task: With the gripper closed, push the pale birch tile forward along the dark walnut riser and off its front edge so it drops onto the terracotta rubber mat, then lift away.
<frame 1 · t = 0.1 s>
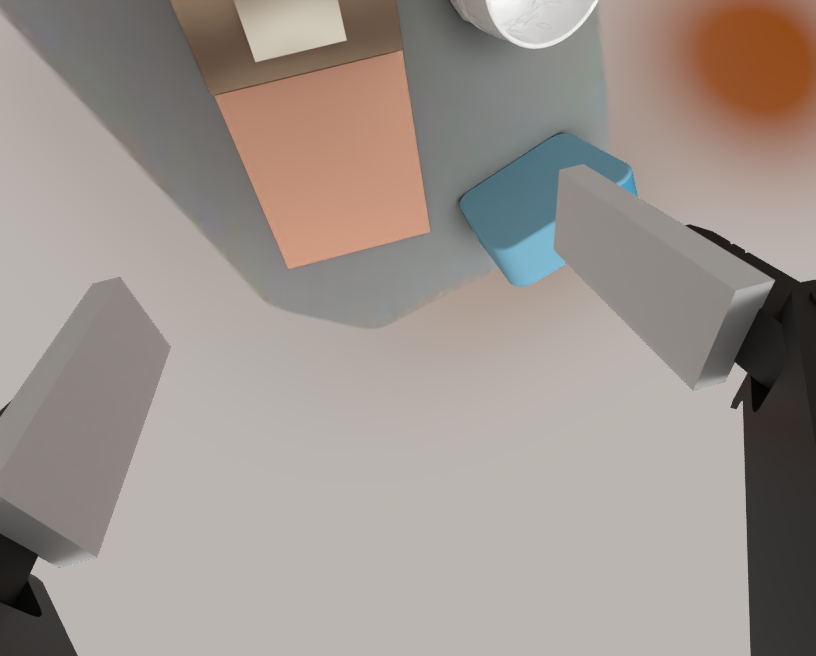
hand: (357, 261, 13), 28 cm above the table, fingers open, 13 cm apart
terracotta mat: (337, 171, 38), on the table
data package: (514, 182, 43), on the table
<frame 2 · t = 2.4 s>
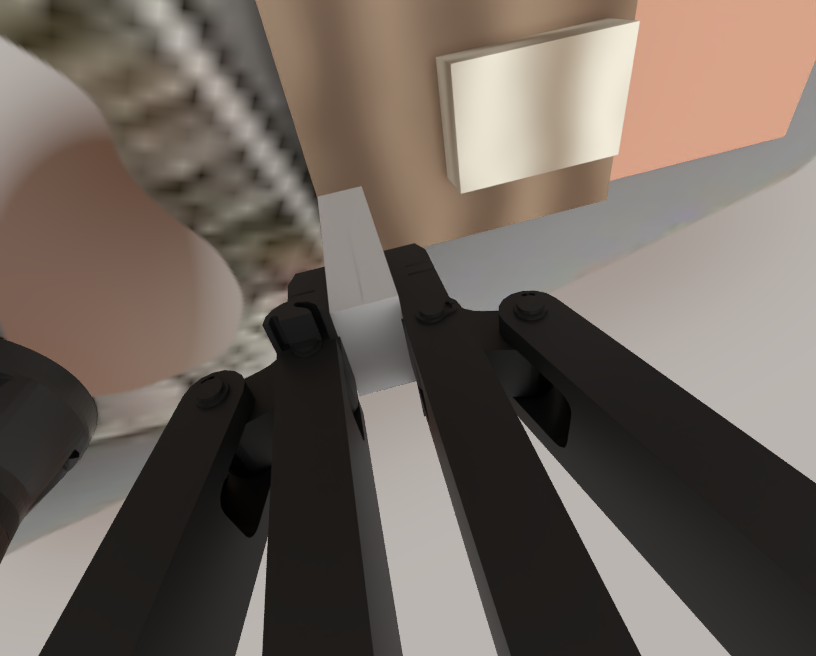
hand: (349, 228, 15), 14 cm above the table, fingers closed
walnut riser: (447, 101, 26), on the table
birch tile: (522, 103, 23), point 4 cm above the table, touching walnut riser
terracotta mat: (711, 39, 27), on the table
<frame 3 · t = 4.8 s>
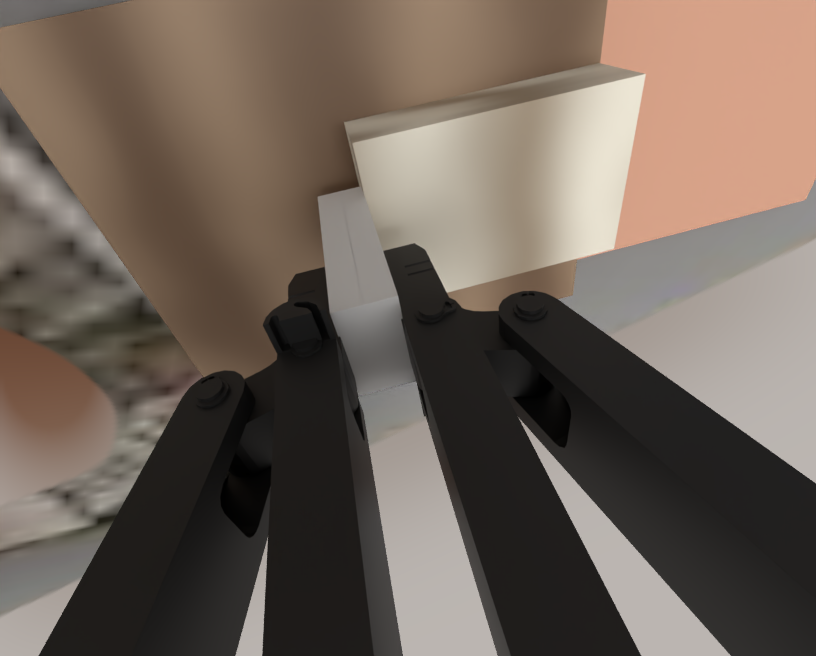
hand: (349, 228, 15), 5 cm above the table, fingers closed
walnut riser: (353, 171, 19), on the table
birch tile: (478, 179, 16), point 4 cm above the table, touching gripper
terracotta mat: (712, 85, 20), on the table
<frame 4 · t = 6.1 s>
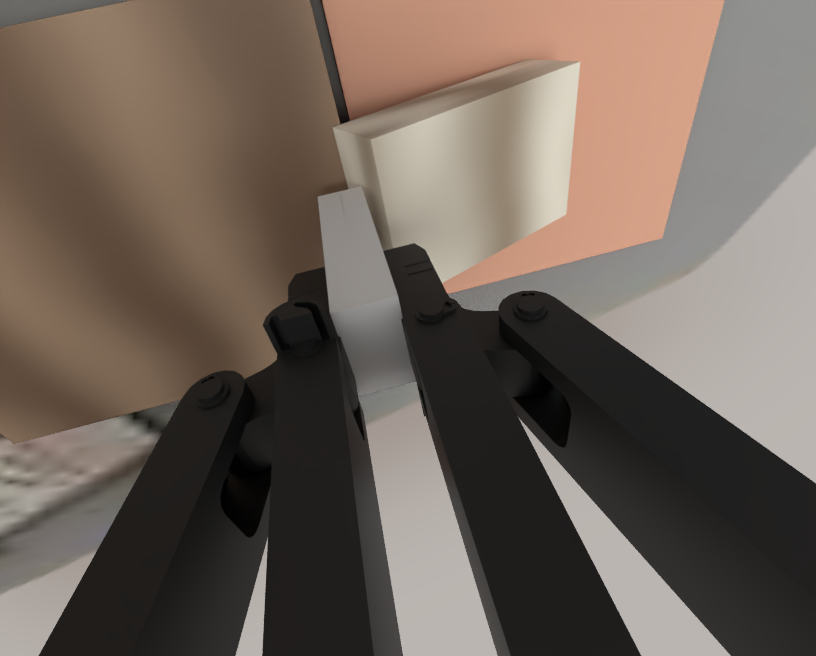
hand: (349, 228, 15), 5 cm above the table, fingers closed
walnut riser: (149, 220, 18), on the table
birch tile: (448, 171, 17), point 2 cm above the table, tilted 23°
terracotta mat: (529, 129, 19), on the table
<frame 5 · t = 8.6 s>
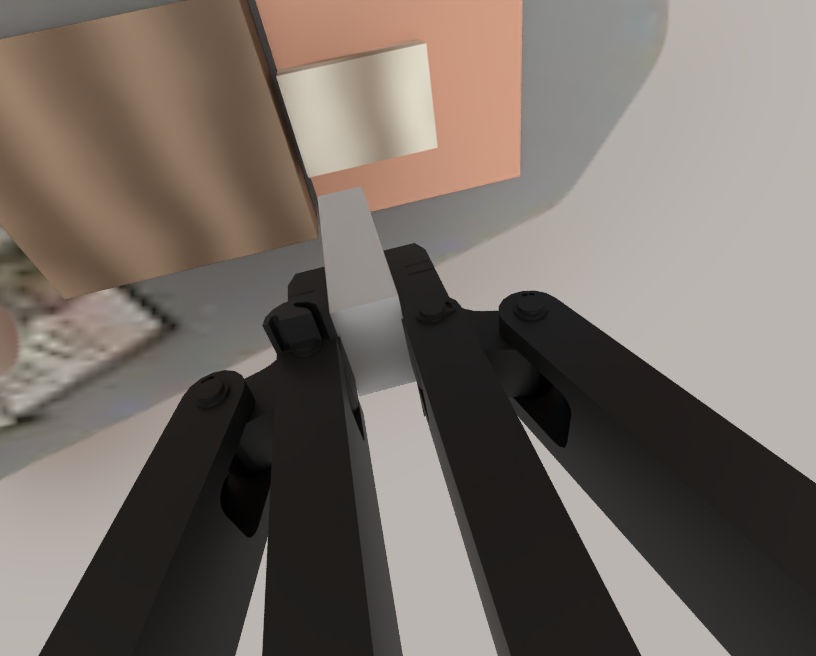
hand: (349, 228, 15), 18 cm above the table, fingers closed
walnut riser: (153, 150, 28), on the table
birch tile: (359, 106, 28), point 1 cm above the table, touching terracotta mat
terracotta mat: (407, 93, 29), on the table
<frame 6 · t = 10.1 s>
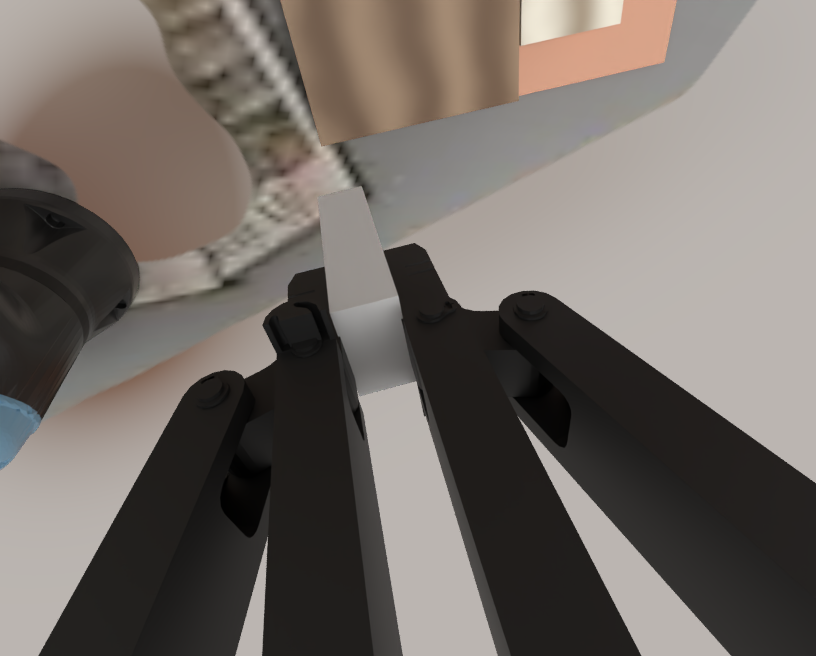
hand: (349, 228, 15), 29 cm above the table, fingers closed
walnut riser: (399, 23, 36), on the table
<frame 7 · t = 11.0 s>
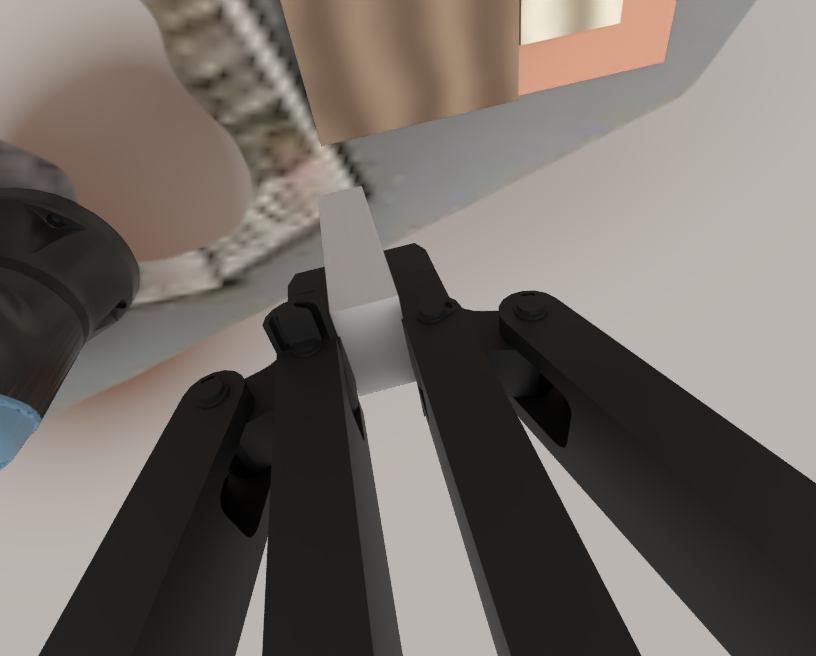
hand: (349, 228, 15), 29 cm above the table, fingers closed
walnut riser: (399, 23, 36), on the table
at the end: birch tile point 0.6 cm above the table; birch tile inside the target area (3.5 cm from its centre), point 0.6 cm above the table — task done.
